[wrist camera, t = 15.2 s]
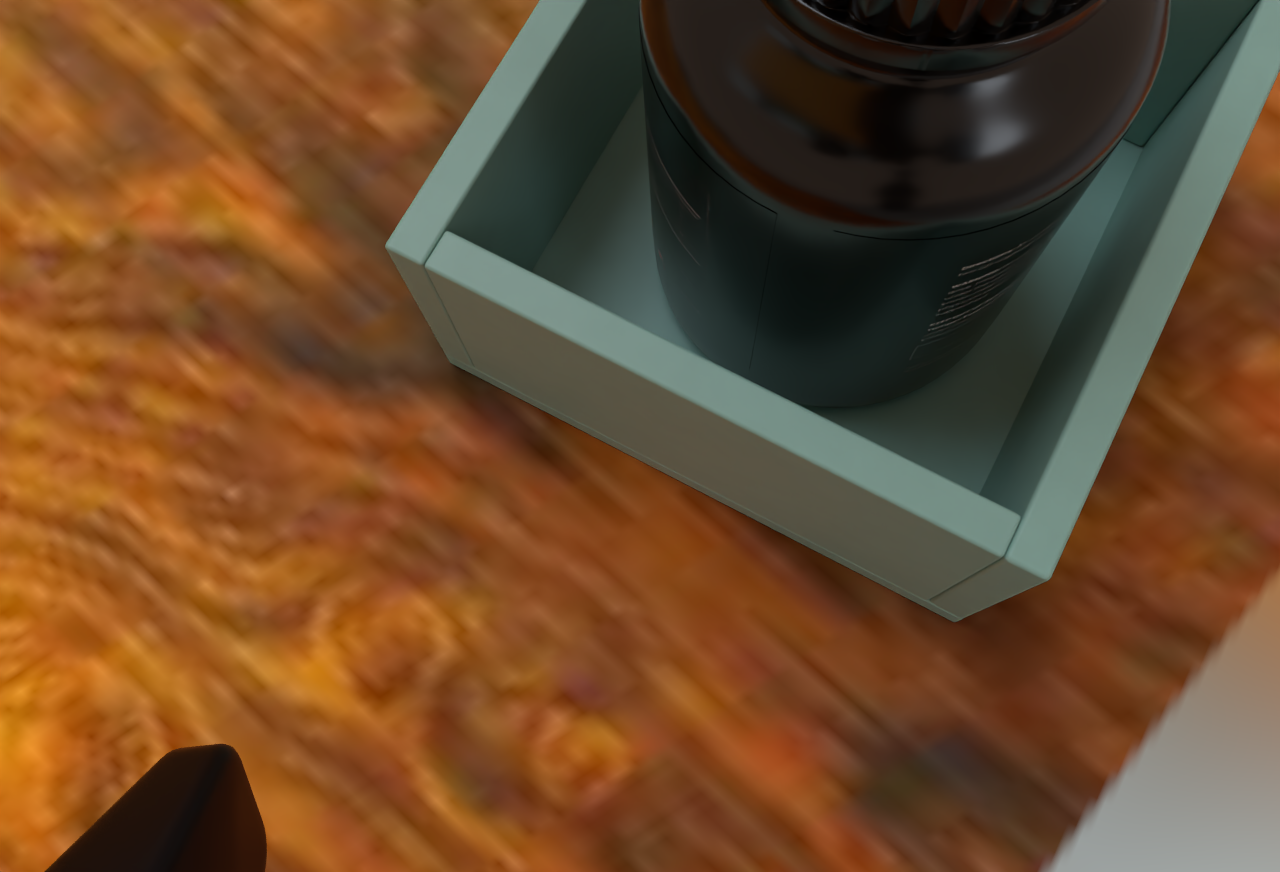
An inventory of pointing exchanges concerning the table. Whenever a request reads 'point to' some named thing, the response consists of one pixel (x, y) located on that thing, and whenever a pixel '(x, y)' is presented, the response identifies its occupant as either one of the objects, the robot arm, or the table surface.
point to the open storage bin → (768, 423)
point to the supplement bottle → (873, 171)
